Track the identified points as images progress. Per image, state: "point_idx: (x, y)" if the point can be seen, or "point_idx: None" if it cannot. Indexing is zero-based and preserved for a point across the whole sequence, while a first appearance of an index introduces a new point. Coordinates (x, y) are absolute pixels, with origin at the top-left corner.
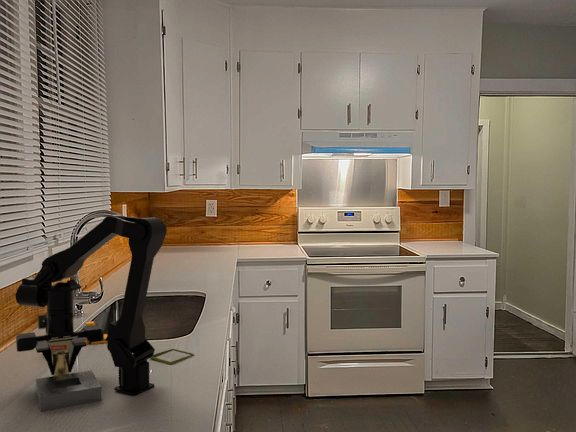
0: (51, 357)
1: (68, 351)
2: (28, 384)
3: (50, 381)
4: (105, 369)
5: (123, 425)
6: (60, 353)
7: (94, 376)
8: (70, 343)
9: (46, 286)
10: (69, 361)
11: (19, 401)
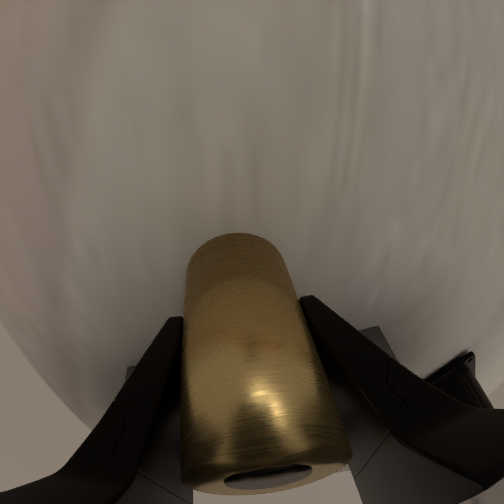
0: (189, 497)
1: (349, 458)
2: (47, 262)
3: None
4: (487, 153)
5: (338, 470)
6: (262, 488)
7: None
8: (433, 481)
9: None
10: (327, 373)
11: (103, 407)
